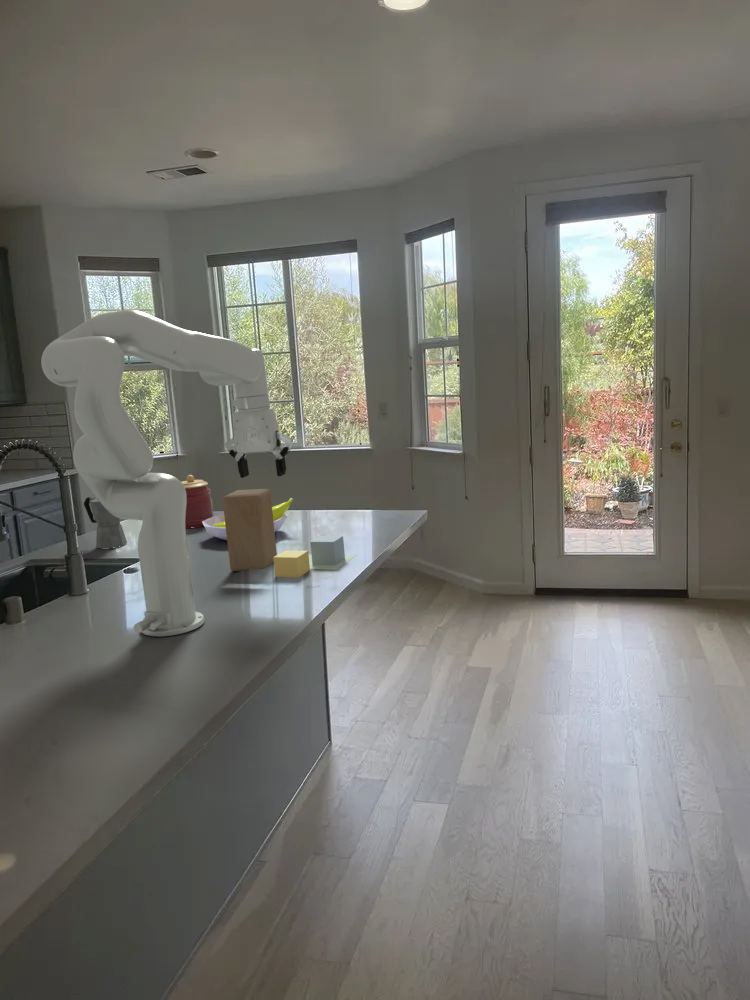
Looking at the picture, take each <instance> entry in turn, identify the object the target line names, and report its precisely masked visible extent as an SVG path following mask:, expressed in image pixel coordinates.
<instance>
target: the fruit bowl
mask: <svg viewBox="0 0 750 1000" xmlns="http://www.w3.org/2000/svg"><path fill="white" fill-rule="evenodd" d="M294 500H295V499H294V498H292V497H290V498H289V500H288V501H285V502H282V503H279V504H277V505H274V506H272V512H273V522H274V532H277V531H279V530H281V528H282V526H283V524H285V522H286V520H287V518H288V514H287V513H286V512H287V510H289V509H290V507H291V504H292V503H293V501H294ZM202 523H203V525H204V528H205V530H206V532H207V534H208V535H209V536H212V537H215V538H217V539H221V540H224V541H227V535H226V526H225V517H224V513H223V514H219V515H214V517H212V518H209V519H207V520H204V521H202Z"/></svg>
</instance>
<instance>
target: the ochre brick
mask: <svg viewBox="0 0 750 1000" xmlns="http://www.w3.org/2000/svg"><path fill="white" fill-rule="evenodd" d="M309 554H310V553H309V550H283V551H282V552H280V553H278V554H277V555H276V556H274V557H273V561H274V562H273V569H274V577H276V578H301V577H302V576H303V575H305V574H306V573H308V572H309V571H310V570H311V569H310V564H309Z"/></svg>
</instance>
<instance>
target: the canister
mask: <svg viewBox="0 0 750 1000" xmlns="http://www.w3.org/2000/svg"><path fill="white" fill-rule="evenodd" d="M181 483H182V484H183V486H184V488H185V490H186V495H187V505H186V517H185V526H186V528H189V529H192V528H191V527H199V528H202V527H201V526H204V525H203V523H202V521H204V520H207V519H209V518H212V517H214V516H215V515H214V506H213V498H212V497H211V492H212V489H211V488H210V487H208V484H209V483H208V482H207V481H204V479H195V477H194V475H192V474H188V475H187V477H186V480H183V481H181Z"/></svg>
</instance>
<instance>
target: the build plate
mask: <svg viewBox="0 0 750 1000" xmlns="http://www.w3.org/2000/svg"><path fill="white" fill-rule="evenodd" d="M308 554H309V564H310V570H329V571H330V570H333V571H334V570H339V569H340V568H342V567H343V566H344V565H346V564H347V562H349V561H350V560H352V559H353V558H355V557H356V556H357V554H345V559H344V560H342V561H341V562H339V563H338V564H337V565H312V555H311V553H308Z"/></svg>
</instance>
